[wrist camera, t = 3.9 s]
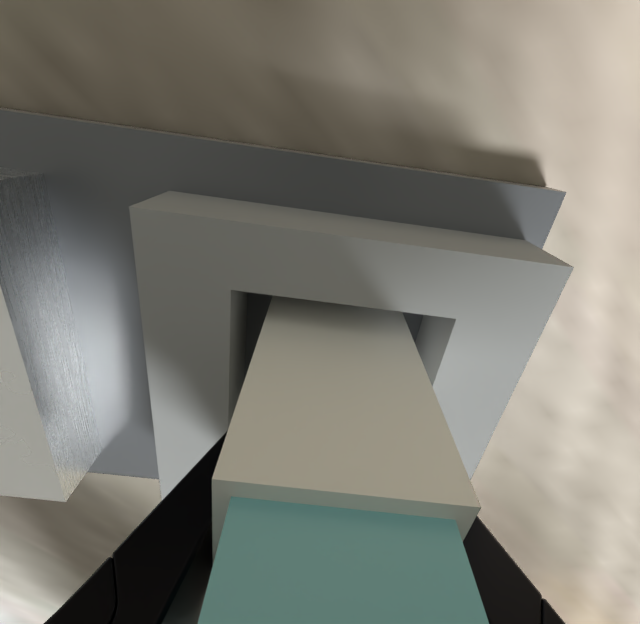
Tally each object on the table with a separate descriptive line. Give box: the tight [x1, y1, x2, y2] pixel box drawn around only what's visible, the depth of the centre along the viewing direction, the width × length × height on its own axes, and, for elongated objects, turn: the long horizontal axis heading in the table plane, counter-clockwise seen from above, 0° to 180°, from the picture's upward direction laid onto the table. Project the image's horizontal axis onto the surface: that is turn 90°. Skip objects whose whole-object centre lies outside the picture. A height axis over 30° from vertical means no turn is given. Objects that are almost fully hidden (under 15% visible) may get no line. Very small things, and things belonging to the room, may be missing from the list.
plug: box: [198, 295, 489, 624], centre depth 7 cm, size 4×5×8 cm
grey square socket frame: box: [129, 191, 574, 500], centre depth 10 cm, size 9×10×2 cm
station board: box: [0, 107, 566, 479], centre depth 11 cm, size 22×12×1 cm, turn 82°
